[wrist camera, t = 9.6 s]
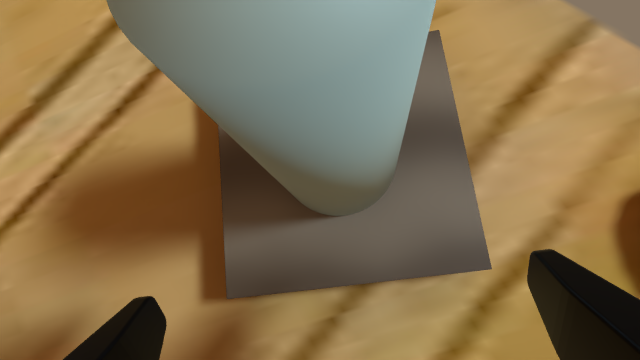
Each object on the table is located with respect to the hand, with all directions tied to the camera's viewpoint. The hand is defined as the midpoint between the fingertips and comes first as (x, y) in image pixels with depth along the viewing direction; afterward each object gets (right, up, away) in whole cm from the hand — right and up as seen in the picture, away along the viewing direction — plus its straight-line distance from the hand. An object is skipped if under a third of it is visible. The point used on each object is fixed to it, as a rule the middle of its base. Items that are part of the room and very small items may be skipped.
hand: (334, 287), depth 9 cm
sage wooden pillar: (+1, +4, +9) cm, 10 cm away
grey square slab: (+1, +3, +12) cm, 12 cm away
